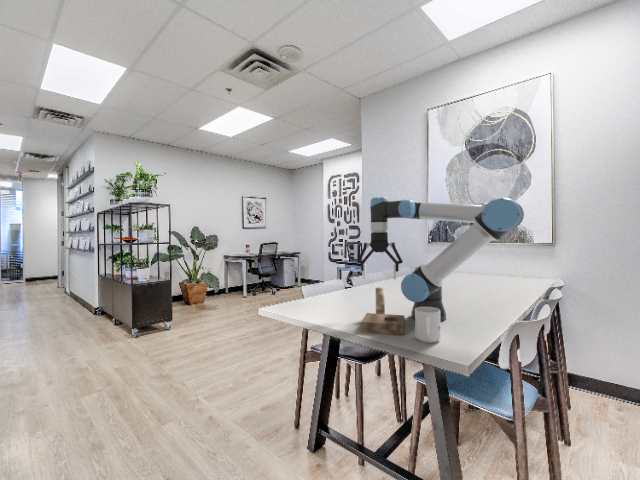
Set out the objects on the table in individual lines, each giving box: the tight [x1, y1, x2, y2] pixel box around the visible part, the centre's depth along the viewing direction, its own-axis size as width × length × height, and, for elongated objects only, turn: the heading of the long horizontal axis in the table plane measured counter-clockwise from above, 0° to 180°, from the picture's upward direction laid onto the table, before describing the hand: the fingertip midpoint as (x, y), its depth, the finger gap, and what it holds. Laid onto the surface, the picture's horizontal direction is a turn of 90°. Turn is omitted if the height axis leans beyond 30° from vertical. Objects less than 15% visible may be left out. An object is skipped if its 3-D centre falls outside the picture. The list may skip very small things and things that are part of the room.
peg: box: [375, 286, 386, 314], centre depth 146 cm, size 4×4×14 cm
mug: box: [414, 307, 442, 344], centre depth 116 cm, size 12×9×11 cm
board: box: [360, 312, 405, 336], centre depth 132 cm, size 16×14×4 cm
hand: (379, 278), depth 145 cm, fingers open, 13 cm apart
